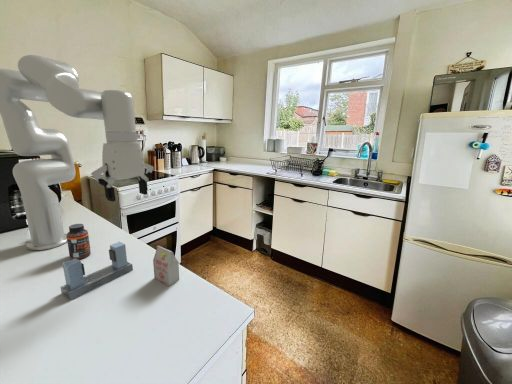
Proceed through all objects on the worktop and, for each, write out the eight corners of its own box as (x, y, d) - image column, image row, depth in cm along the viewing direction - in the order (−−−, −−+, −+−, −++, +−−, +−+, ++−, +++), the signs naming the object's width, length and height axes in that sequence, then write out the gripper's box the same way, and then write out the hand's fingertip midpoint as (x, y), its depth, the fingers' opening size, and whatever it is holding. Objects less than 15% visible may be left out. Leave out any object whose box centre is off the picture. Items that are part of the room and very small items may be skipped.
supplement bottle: (80, 261, 79) (75, 230, 76) (65, 259, 80) (59, 227, 78) (95, 253, 85) (91, 223, 82) (81, 250, 86) (76, 221, 83)
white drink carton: (164, 272, 75) (162, 243, 73) (179, 279, 72) (177, 249, 69) (154, 278, 72) (152, 247, 70) (169, 286, 69) (167, 254, 66)
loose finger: (110, 266, 73) (107, 246, 72) (121, 261, 76) (119, 241, 74) (115, 269, 72) (113, 248, 70) (127, 264, 75) (125, 244, 73)
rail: (61, 293, 64) (56, 263, 62) (123, 265, 78) (121, 239, 76) (70, 300, 61) (64, 269, 59) (132, 270, 76) (130, 244, 73)
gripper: (142, 137, 76) (147, 190, 80) (80, 138, 62) (90, 201, 66) (157, 138, 72) (161, 193, 76) (94, 138, 58) (103, 206, 62)
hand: (128, 197), depth 71 cm, fingers open, 9 cm apart
